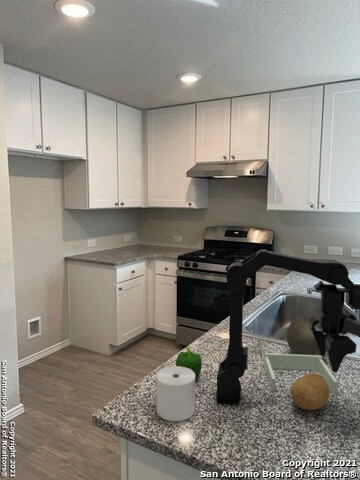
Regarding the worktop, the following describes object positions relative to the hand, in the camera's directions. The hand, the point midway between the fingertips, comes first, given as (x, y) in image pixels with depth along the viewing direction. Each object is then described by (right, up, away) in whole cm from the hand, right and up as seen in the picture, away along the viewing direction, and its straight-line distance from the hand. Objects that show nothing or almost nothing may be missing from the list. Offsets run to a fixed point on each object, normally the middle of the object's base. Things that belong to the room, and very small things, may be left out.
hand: (328, 363), depth 93 cm
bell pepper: (-37, -12, +18) cm, 43 cm away
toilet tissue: (-42, -13, +2) cm, 44 cm away
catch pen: (-2, -12, +18) cm, 21 cm away
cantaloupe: (+7, -10, +35) cm, 37 cm away
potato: (-4, -13, +4) cm, 14 cm away
